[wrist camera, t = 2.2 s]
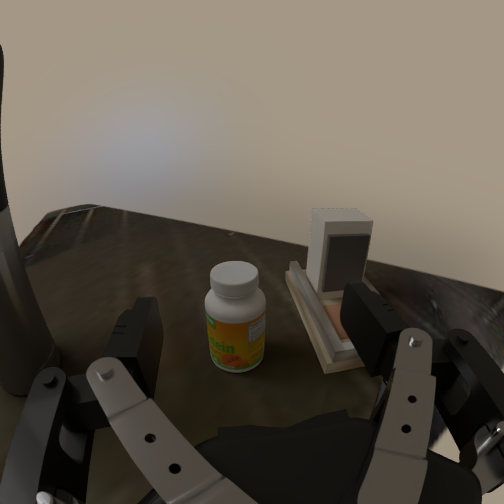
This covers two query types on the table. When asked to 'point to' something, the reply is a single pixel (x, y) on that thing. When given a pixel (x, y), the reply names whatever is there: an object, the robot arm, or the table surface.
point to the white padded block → (337, 250)
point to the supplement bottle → (235, 317)
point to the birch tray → (323, 323)
